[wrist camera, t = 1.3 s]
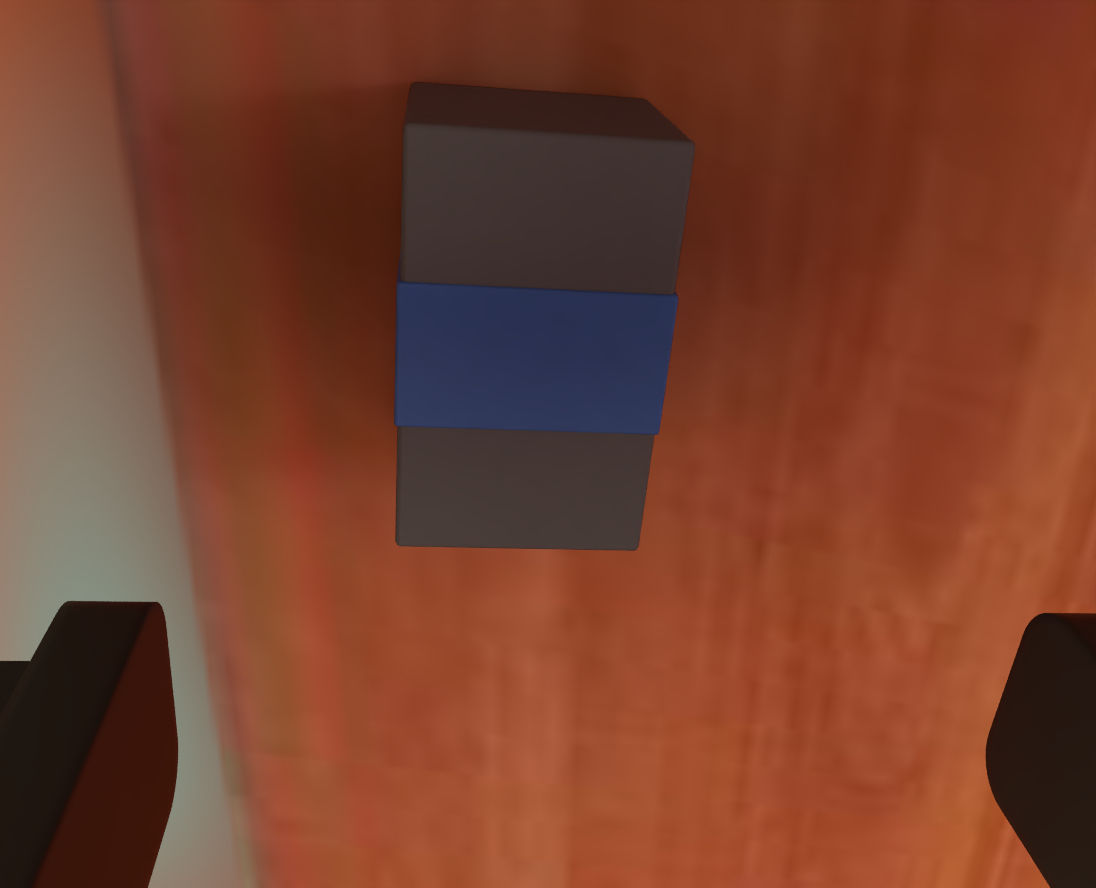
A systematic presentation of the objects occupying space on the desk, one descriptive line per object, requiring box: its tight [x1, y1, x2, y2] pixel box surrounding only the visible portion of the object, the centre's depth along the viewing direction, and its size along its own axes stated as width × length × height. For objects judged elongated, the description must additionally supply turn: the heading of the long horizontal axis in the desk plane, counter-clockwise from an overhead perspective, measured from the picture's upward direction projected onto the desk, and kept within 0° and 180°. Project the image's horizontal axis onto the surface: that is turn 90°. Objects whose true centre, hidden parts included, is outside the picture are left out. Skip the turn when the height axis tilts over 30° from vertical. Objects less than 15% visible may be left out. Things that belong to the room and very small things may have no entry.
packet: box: [394, 82, 695, 551], centre depth 18 cm, size 7×4×4 cm, turn 175°
